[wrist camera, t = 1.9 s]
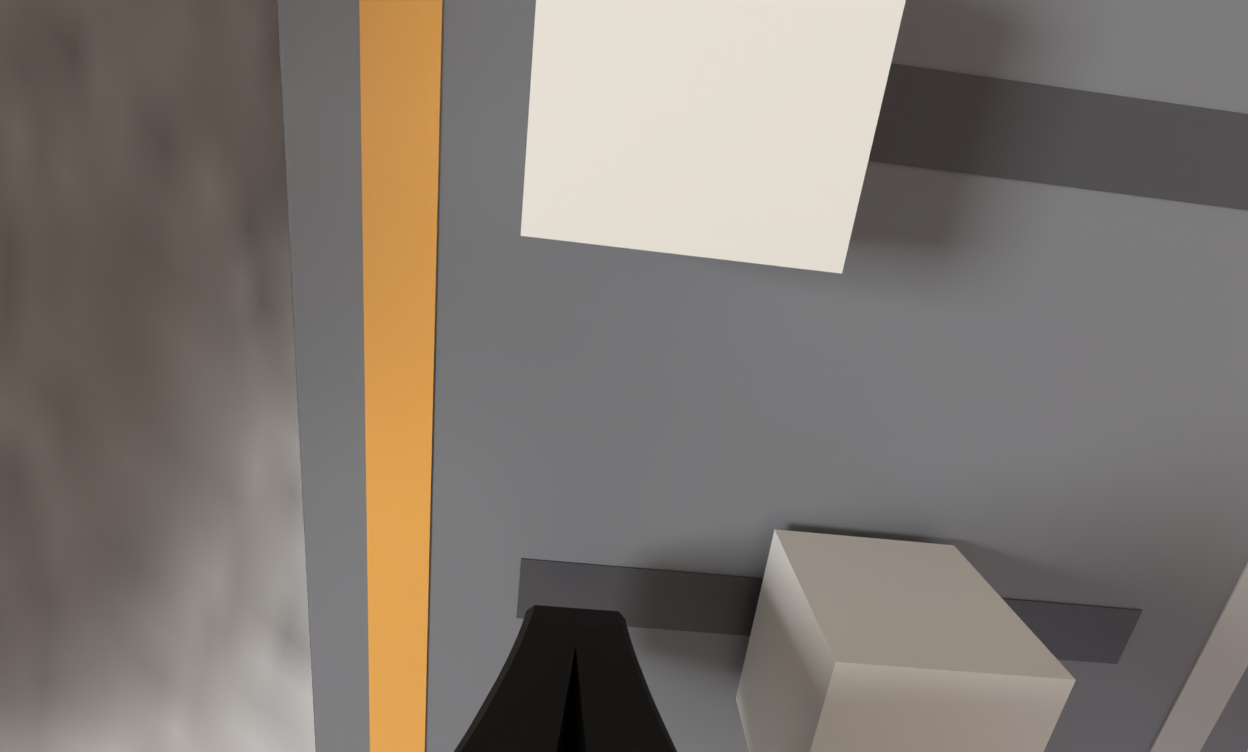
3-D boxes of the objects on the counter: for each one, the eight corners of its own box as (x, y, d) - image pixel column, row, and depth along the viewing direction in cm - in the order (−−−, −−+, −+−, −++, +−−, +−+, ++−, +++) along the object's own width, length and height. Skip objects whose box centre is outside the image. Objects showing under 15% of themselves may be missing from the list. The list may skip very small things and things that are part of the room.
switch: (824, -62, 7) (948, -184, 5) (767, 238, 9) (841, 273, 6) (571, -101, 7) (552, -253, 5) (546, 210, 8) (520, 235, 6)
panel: (1572, -62, 9) (1753, -103, 8) (1040, 959, 17) (1081, 1035, 15) (319, -275, 8) (256, -370, 7) (354, 930, 16) (328, 1009, 14)
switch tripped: (953, 544, 10) (1075, 679, 8) (898, 709, 11) (987, 877, 9) (774, 529, 10) (836, 661, 7) (735, 698, 11) (777, 866, 9)
